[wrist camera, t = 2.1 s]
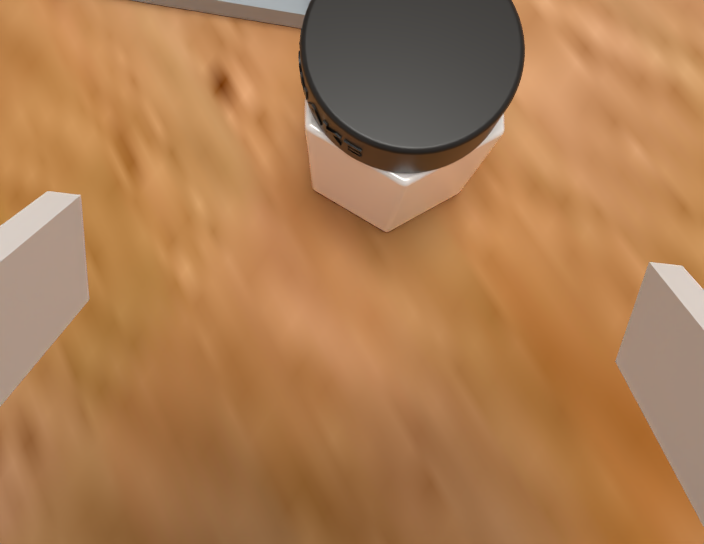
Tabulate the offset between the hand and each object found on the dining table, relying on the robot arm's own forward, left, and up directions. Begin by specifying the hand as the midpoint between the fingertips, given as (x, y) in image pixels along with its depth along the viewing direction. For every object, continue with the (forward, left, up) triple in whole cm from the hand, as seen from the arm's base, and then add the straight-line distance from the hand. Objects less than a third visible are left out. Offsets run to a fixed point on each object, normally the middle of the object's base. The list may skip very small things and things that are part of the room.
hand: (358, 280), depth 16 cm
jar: (+1, +10, -19) cm, 21 cm away
